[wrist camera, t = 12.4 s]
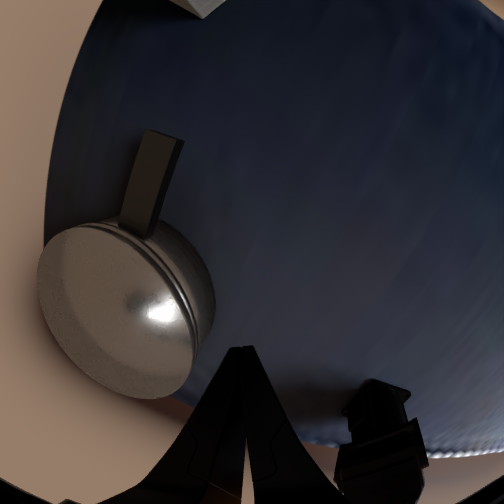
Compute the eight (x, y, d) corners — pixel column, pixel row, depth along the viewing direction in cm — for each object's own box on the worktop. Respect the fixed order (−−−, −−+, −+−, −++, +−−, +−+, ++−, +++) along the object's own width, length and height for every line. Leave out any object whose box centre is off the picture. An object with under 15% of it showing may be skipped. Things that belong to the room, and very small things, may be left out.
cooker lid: (226, 286, 19) (223, 292, 18) (172, 415, 25) (168, 421, 24) (49, 195, 19) (41, 197, 18) (46, 336, 25) (41, 340, 24)
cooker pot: (282, 177, 22) (273, 180, 16) (191, 379, 31) (172, 414, 25) (117, 115, 23) (75, 109, 17) (79, 311, 32) (50, 333, 26)
